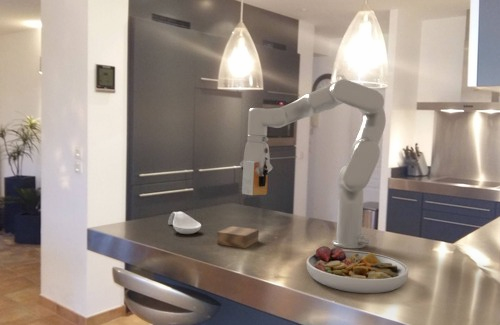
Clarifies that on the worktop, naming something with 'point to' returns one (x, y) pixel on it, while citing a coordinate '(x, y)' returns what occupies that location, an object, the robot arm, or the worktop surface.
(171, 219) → the spoon rest
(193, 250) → the worktop surface
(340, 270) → the bowl
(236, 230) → the tan block
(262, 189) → the small box
